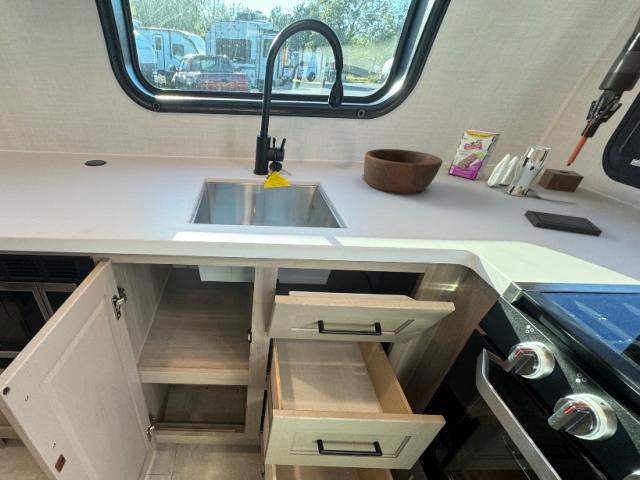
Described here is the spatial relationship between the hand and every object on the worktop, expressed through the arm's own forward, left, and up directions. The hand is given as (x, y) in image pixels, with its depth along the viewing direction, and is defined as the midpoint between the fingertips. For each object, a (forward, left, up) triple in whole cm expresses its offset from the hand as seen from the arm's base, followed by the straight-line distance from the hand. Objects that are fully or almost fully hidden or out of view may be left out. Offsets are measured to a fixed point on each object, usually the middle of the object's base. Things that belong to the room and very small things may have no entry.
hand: (586, 136), depth 102 cm
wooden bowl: (+53, +18, -18) cm, 59 cm away
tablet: (+9, +37, -18) cm, 42 cm away
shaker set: (+17, -1, -18) cm, 25 cm away
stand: (0, 0, -18) cm, 18 cm away
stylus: (0, 0, -9) cm, 9 cm away
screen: (+9, +37, -18) cm, 42 cm away
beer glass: (+13, +8, -18) cm, 24 cm away
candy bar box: (+27, -10, -18) cm, 34 cm away
